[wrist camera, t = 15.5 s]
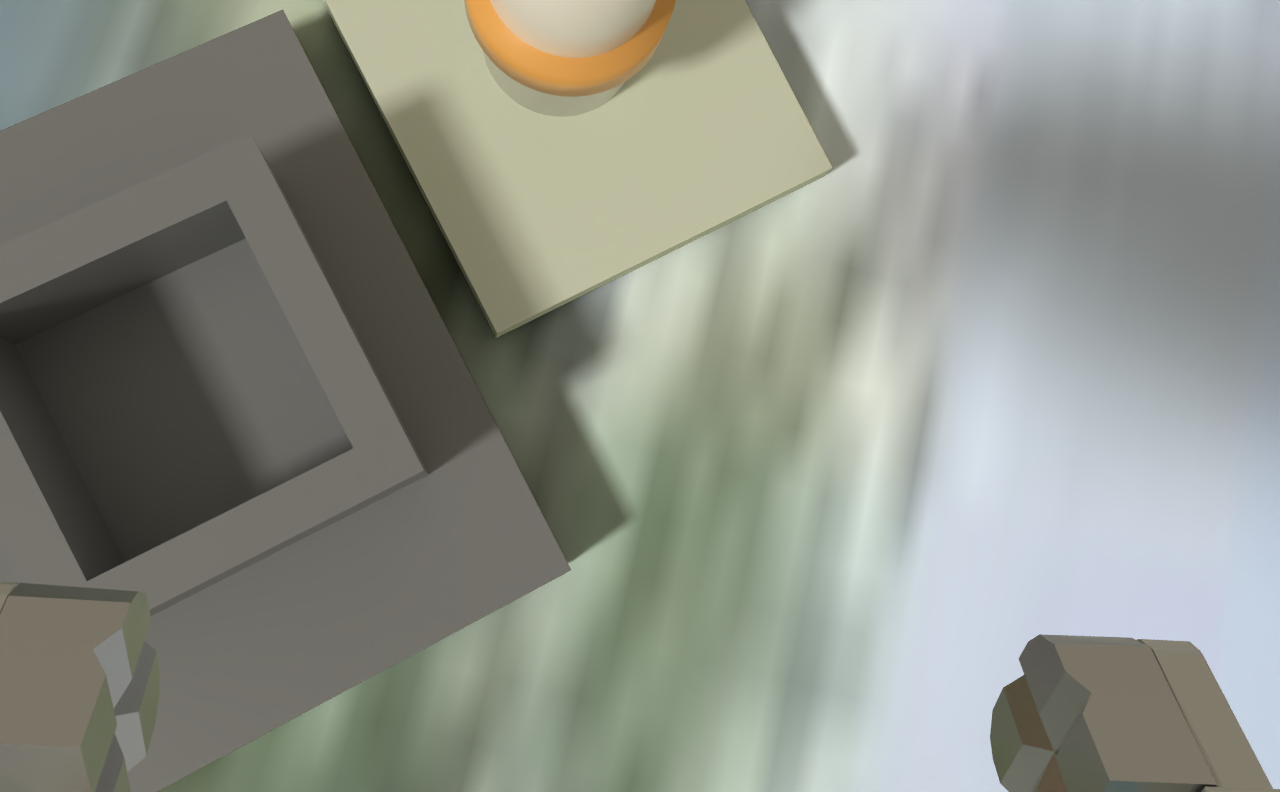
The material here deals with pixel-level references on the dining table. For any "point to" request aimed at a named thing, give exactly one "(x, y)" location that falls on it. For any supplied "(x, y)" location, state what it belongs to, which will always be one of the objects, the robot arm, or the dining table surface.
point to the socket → (240, 397)
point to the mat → (581, 148)
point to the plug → (566, 48)
